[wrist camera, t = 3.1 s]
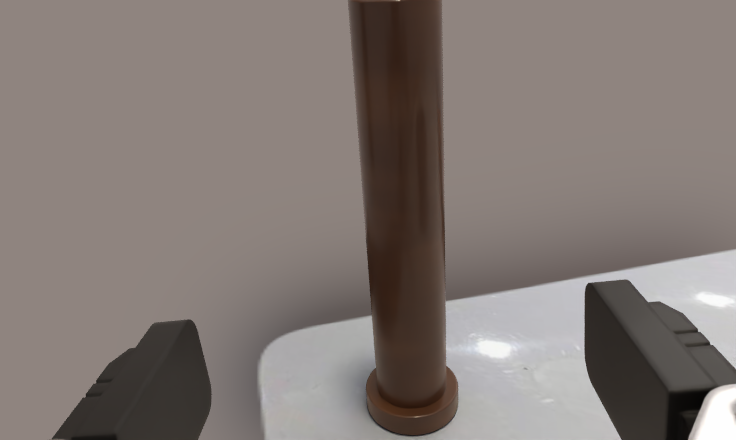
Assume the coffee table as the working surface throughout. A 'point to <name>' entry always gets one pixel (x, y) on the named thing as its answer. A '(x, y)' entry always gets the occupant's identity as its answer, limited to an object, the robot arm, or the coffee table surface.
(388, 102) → the rod
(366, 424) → the coffee table surface
